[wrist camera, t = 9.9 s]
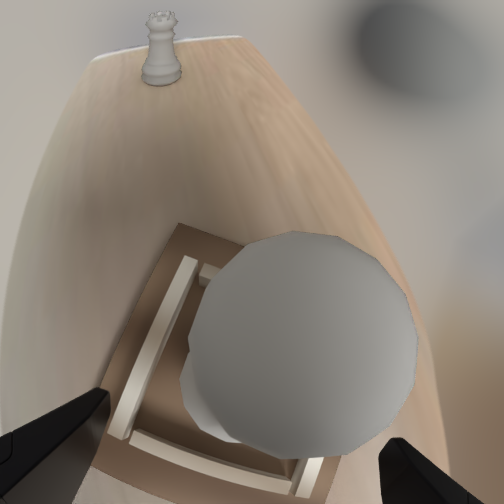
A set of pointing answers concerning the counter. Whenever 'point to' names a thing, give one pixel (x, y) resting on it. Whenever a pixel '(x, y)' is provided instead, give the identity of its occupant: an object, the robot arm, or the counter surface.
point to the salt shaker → (300, 348)
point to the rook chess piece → (161, 51)
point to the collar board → (171, 402)
